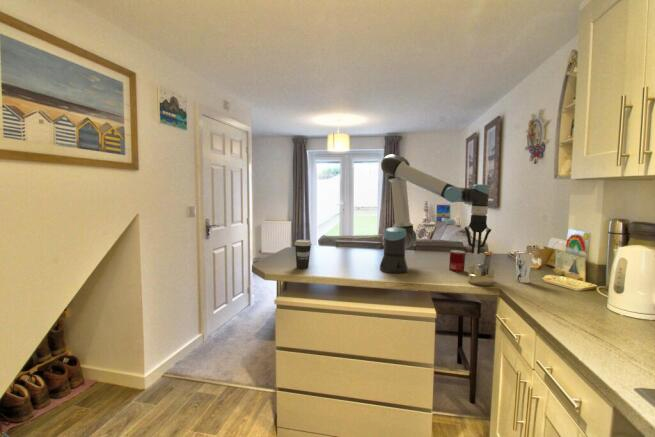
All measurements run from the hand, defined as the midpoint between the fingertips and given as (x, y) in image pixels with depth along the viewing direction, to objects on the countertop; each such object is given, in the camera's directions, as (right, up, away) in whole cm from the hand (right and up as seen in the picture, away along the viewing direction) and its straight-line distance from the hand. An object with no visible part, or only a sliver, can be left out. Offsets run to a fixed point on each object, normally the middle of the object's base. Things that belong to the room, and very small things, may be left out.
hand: (475, 259), depth 169 cm
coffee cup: (-91, -6, +11) cm, 92 cm away
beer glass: (+22, -11, -5) cm, 25 cm away
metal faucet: (0, -10, -8) cm, 13 cm away
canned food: (-3, -8, +16) cm, 18 cm away
